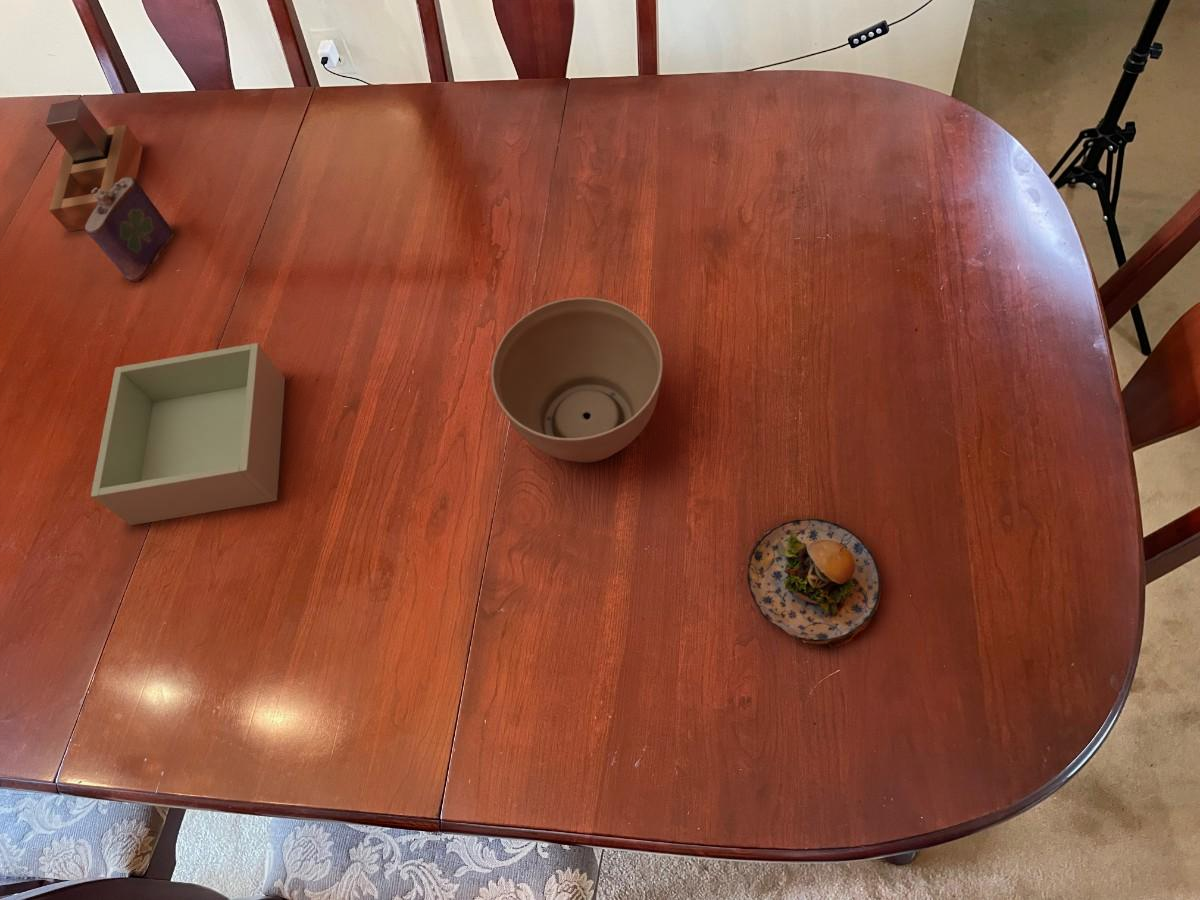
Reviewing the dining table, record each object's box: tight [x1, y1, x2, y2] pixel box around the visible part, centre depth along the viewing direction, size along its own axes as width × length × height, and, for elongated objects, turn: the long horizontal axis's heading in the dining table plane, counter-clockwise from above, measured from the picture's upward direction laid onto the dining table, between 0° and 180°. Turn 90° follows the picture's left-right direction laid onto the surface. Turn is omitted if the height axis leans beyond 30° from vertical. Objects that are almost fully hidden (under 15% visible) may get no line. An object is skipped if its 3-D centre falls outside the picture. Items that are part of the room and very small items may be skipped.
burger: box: [746, 517, 882, 649], centre depth 74 cm, size 12×12×8 cm
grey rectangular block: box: [45, 98, 112, 164], centre depth 112 cm, size 4×4×10 cm
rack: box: [48, 123, 144, 233], centre depth 113 cm, size 8×14×4 cm, turn 8°
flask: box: [84, 177, 174, 282], centre depth 103 cm, size 9×3×11 cm, turn 163°
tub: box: [90, 342, 286, 526], centre depth 89 cm, size 16×16×7 cm
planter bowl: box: [490, 296, 664, 463], centre depth 84 cm, size 16×16×11 cm
